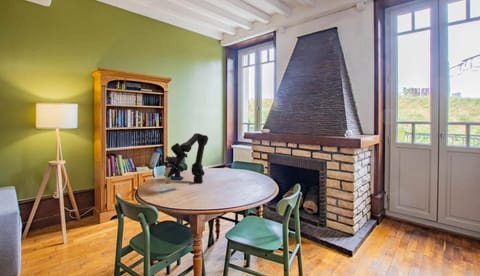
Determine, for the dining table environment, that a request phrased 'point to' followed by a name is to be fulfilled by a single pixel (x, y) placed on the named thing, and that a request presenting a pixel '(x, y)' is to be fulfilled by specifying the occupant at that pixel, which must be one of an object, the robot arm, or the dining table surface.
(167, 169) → the birch peg
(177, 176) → the handheld scanner
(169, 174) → the robot arm
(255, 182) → the dining table surface
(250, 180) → the dining table surface
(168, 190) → the strip
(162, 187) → the board
